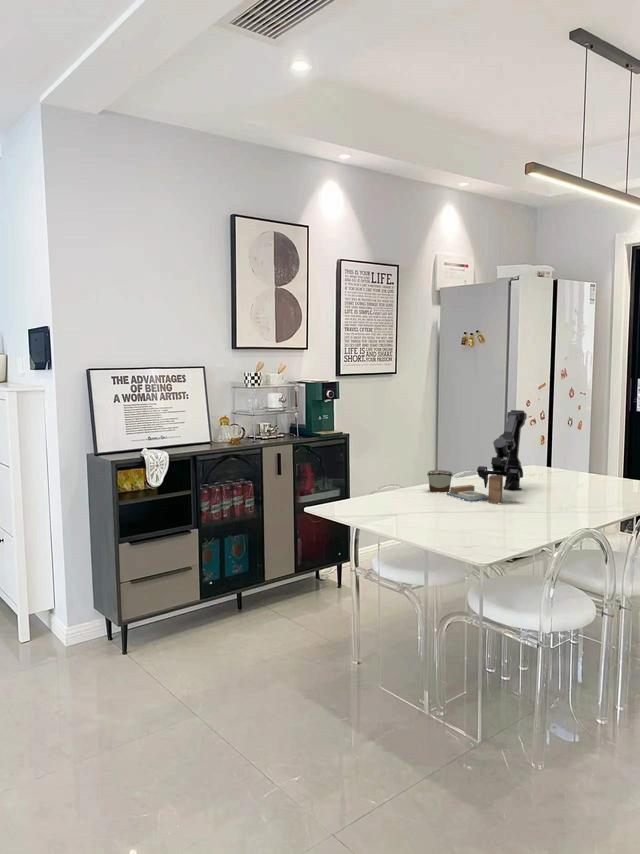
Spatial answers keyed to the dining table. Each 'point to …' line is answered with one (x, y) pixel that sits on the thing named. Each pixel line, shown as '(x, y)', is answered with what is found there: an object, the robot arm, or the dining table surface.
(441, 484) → the food container
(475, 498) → the blueprint board
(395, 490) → the dining table surface
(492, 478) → the pillar
